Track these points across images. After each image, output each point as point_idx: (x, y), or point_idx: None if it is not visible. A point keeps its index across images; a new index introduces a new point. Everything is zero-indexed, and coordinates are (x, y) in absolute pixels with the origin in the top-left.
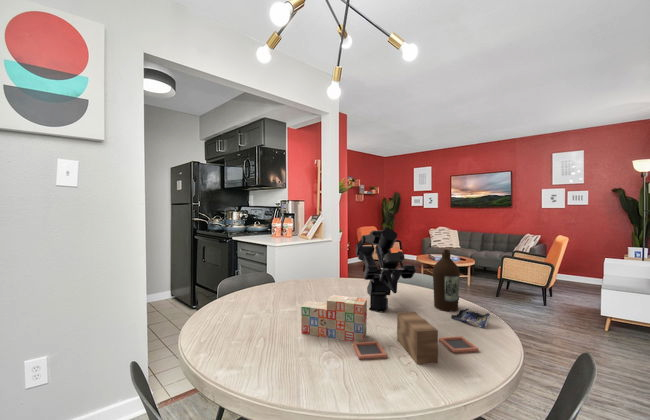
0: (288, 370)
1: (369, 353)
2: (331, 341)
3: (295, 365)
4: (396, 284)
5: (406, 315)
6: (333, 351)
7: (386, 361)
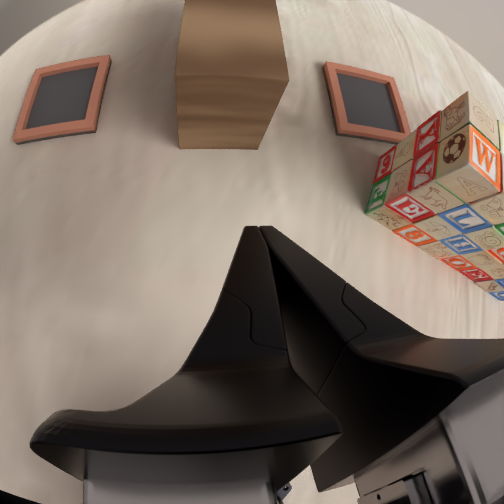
0: None
1: (367, 89)
2: None
3: None
4: (242, 272)
5: (250, 44)
6: None
7: (325, 57)
